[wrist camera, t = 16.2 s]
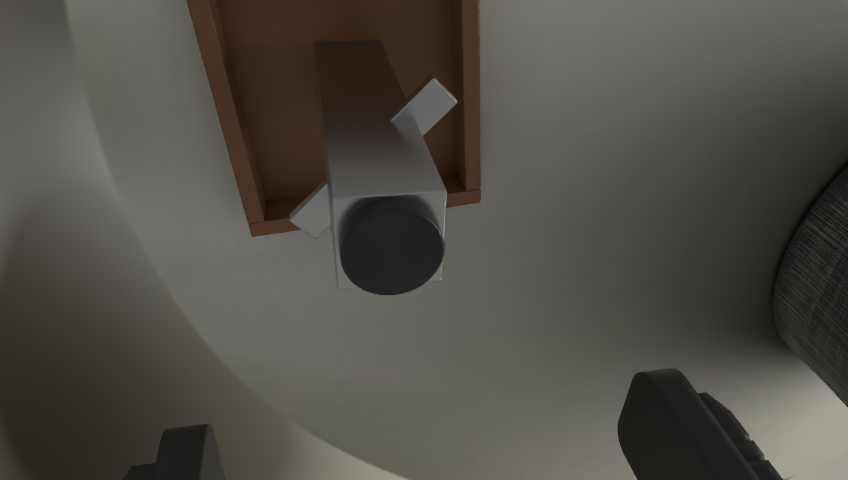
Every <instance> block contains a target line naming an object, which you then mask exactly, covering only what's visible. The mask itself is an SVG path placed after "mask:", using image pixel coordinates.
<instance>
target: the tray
mask: <svg viewBox="0 0 848 480" xmlns="http://www.w3.org/2000/svg"><path fill="white" fill-rule="evenodd" d="M187 4H188V8H189V11H190V15H191V19H192V22H193V26H194V29H195V33H196V37H197V40H198V44H199V48H200V51H201V55H202V58H203V62H204V66H205V69H206V73H207V76H208V80H209V84H210V87H211V91H212V95H213V98H214V102H215V105H216V109H217V113H218V116H219V120H220V124H221V127H222V131H223V134H224V138H225V142H226V145H227V149H228V152H229V156H230V160H231V163H232V167H233V171H234V174H235V178H236V181H237V185H238V189H239V192H240V196H241V200H242V203H243V207H244V210H245V214H246V218H247V221H248V223H249V224H248V225H249V228H250V232H251V236H252V237H256V236H263V235H269V234H276V233H282V232H289V231H296V230H302V229H300V228H299V227H297V226H296V225H295V224H293V223H292V222H290V213H291V212H292V211H293V210H294V209H295V208H296V207H297V206H298V205H299V204H300V203H302V202H303V201H304V200H305V199H306V198H307V197H308V196H309V195H310V194H311V193H312V192H313V191H314V190H315V189H316V188H317V187H318V186H319V185H320V184H321V183H322V182H323V181H324V180H325V179H326V175H325V165H324V156H323V147H322V137H321V128H320V118H319V109H318V96H317V82H316V67H315V53H314V42H354V41H381V43H382V46H383V48H384V50H385V53H386V55H387V57H388V59H389V62H390V64H391V66H392V68H393V71H394V73H395V75H396V77H397V80H398V82H399V84H400V87H401V89H402V91H403V93H404V96H405V98H407V97H408V96H409V95H410V94H411V93H412V92H413V91H414V90H415V89H416V88H417V87H418V86H419V85H420V84H421V83H422V82H423V81H424V80H425V79H426V78H427V77H428V76H429V75H431V74H433V75H434V76H435V77H436V78H437V79H438V80H439V81H440V82H441V83H442V84H443V85H444V86H445V87H446V88H447V90H448V91H449V92H450V93H451V94H452V95H453V96H454V97H455V98H456V100H457V104H456V105H455V106H454V107H452V108H451V109H450V110H449V111H448V112H447V113H446V114H445V115H444V116H443V117H442V118H441V119H440V120H439V121H438V122H437V123H436V124H435V125H434V126H433V127H432V128H431V129H430V130H428V131H427V132H426V133H425V134H424V135H423V139H424V141H425V143H426V146H427V148H428V150H429V152H430V155H431V157H432V159H433V161H434V164H435V166H436V168H437V170H438V173H439V175H440V177H441V180H442V182H443V184H444V186H445V189H446V191H447V197H446V208H447V207H454V206H460V205H467V204H473V203H480V202H481V189H480V188H481V166H480V27H479V0H187ZM330 225H331V224H330Z"/></svg>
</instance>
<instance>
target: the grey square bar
mask: <svg viewBox="0 0 848 480" xmlns="http://www.w3.org/2000/svg"><path fill="white" fill-rule="evenodd" d="M314 53H315V67H316V82H317V96H318V109H319V118H320V128H321V137H322V147H323V156H324V165H325V175H326V179H325V180H324V181H323V182H322V183H321V184H320V185H319V186H318V187H317V188H316V189H315V190H314V191H313V192H312V193H311V194H310V195H309V196H308V197H307V198H306V199H305V200H304V201H303V202H302V203H300V204H299V205H298V206H297V207H296V208H295V209H294V210H293V211H292V212H291V213H290V222H292V223H293V224H295V225H296V226H297V227H299V228H300V229H302V230H303V231H305V232H306V233H307V234H309V235H310V236H312V237H313V238H317V237H318V236H319V235H320V234H321V233H322V232H323V231H324V230H325V229H326V228H327V227H328V226H329V225H330V224H331V231H332V241H333V250H334V260H335V269H336V279H337V288H338V289H339V290H341V289H352V288H361V289H362V290H364V291H367V292H369V293H373V294H378V295H398V294H403V293H406V292H409V291H412V290H414V289H416V288H418V287H420V286H422V285H423V284H424V283H426V282H430V281H440V280H441V276H442V260H443V257H444V251H445V242H444V228H445V213H446V197H447V191H446V189H445V186H444V184H443V182H442V180H441V177H440V175H439V173H438V170H437V168H436V166H435V164H434V161H433V159H432V157H431V155H430V152H429V150H428V148H427V146H426V143H425V141H424V139H423V135H424V134H425V133H426V132H427V131H428V130H430V129H431V128H432V127H433V126H434V125H435V124H436V123H437V122H438V121H439V120H440V119H441V118H442V117H443V116H444V115H445V114H446V113H447V112H448V111H449V110H450V109H451V108H452V107H454V106H455V105H456V104H457V100H456V98H455V97H454V96H453V95H452V94H451V93H450V92H449V91H448V90H447V88H446V87H445V86H444V85H443V84H442V83H441V82H440V81H439V80H438V79H437V78H436V77H435V76H434V75H433V74H431V75H429V76H428V77H427V78H426V79H425V80H424V81H423V82H422V83H421V84H420V85H419V86H418V87H417V88H416V89H415V90H414V91H413V92H412V93H411V94H410V95H409V96H408V97H407V98H405V96H404V93H403V91H402V89H401V87H400V84H399V82H398V80H397V77H396V75H395V73H394V71H393V68H392V66H391V64H390V62H389V59H388V57H387V55H386V53H385V50H384V48H383V46H382V43H381V41H354V42H314Z"/></svg>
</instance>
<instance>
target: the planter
mask: <svg viewBox="0 0 848 480" xmlns="http://www.w3.org/2000/svg"><path fill="white" fill-rule="evenodd" d="M773 312H774V318H775V323H776V326H777V329H778V331H779V333H780V336H781V337H782V339H783V340H784V342H785V343H786V344H787V345H788V346H789V347H790V349H791V350H792V351H793V352H794V353H796V354H797V355H798V356H799V357H800V358H801V359H802V360H803V361H804V362H805V363H806V364H807V365H808V366H809V367H810V368H811V369H812V370H813V371H814V372H815V373H816V374H817V375H818V376H819V377H820V378H821V379H822V380H823V381H824V382H825V383H826V384H827V385H828V386H829V387H830V389H831V390H832V391H833V392H834V393H835V394H836V395H837V396H838V397H839V399H840V400H841V401H842V402H843V403H844V404H845V405H846V406H847V407H848V166H847V167H846V168H845V169H844V170H843V171H842V172H841V173H840V174H839V175H838V176H837V178H836V179H835V180H834V181H833V182H832V183H831V184H830V185H829V187H828V188H827V189H826V190H825V191H824V193H823V194H822V195H821V196H820V197H819V199H818V200H817V201H816V203H815V204H814V205H813V207H812V208H811V209H810V211H809V212H808V214H807V215H806V217H805V218H804V220H803V221H802V223H801V225H800V226H799V228H798V230H797V231H796V233H795V235H794V237H793V238H792V240H791V242H790V244H789V246H788V248H787V251H786V253H785V255H784V257H783V260H782V263H781V265H780V268H779V271H778V275H777V279H776V283H775V289H774V297H773Z"/></svg>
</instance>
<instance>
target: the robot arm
mask: <svg viewBox="0 0 848 480" xmlns="http://www.w3.org/2000/svg"><path fill="white" fill-rule="evenodd" d="M618 437H619V442H620V446H621V449H622V451H623V453H624V455H625V457H626V459H627V461H628V463H629V465H630V466H631V468H632V470H633V472H634V474H635V476H636V478H637V479H638V480H783V479H782V478H781V476H780V475H779V474H778V472H777V471H776V470H775V468H774V467H773V466H772V465H771V463H770V462H769V461H768V460H767V461H766V460H765V458H764V454H763V453H762V451H761V450H760V449H759V448H758V446H757V445H756V444H755V442H754V441H753V440H752V441H751V440H750V439H749V434H748V433H747V432H746V431H745V429H744V428H743V427H742V425H741V424H740V423H739V421H738V420H737V419H736V417H735V416H734V415H733V413H732V412H731V411H730V410H728V409H727V408H726V407H724V406H723V405H722V404H721V403H719V402H718V401H717V400H715V399H714V398H713V397H711V396H710V395H709V394H708V393H706V392H703V393H697V392H696V391H695V390H694V388H693V387H692V385H691V384H690V383H689V381H688V380H687V379H686V377H685V376H684V375H683V374H682V373H681V372H680V371H679V370H677V369H675V368H670V369H661V370H653V371H645V372H638V373H636V374H635V375H634V377H633V379H632V382H631V385H630V388H629V391H628V394H627V397H626V400H625V403H624V406H623V409H622V412H621V415H620V418H619V421H618ZM123 480H225V475H224V471H223V467H222V463H221V459H220V455H219V451H218V447H217V443H216V439H215V435H214V431H213V428H212V425H211V424H202V425H195V426H187V427H178V428H170V429H166V430H164V432H163V435H162V437H161V441H160V446H159V451H158V455H157V460H156V463H154V464H146V465H138V466H132V467H131V468H130V470H129V471H128V472H127V474H126V475H125V477H124V478H123Z"/></svg>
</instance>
